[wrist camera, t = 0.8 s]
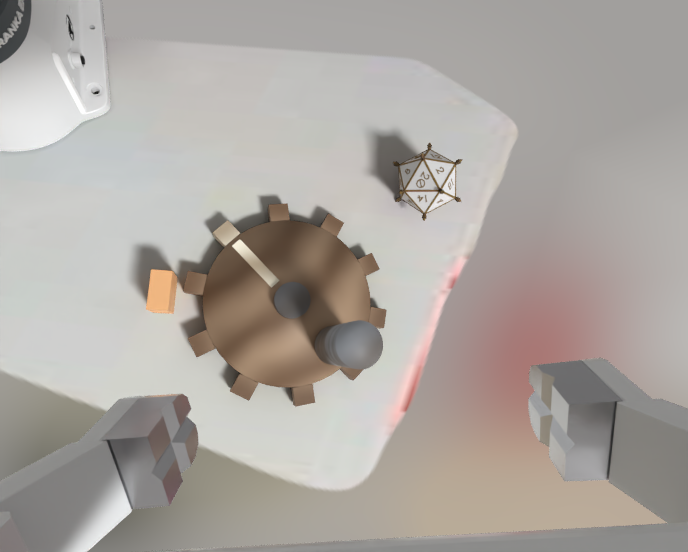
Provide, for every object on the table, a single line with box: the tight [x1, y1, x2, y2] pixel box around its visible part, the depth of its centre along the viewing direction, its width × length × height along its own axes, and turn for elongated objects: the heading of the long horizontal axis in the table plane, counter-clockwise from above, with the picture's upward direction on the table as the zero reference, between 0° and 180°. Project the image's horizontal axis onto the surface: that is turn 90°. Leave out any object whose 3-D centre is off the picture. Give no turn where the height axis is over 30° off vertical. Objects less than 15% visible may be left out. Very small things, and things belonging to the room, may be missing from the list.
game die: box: [393, 143, 462, 221], centre depth 50 cm, size 9×8×10 cm
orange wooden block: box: [146, 269, 178, 314], centre depth 42 cm, size 4×2×4 cm, turn 178°
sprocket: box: [183, 204, 386, 406], centre depth 41 cm, size 23×23×12 cm
